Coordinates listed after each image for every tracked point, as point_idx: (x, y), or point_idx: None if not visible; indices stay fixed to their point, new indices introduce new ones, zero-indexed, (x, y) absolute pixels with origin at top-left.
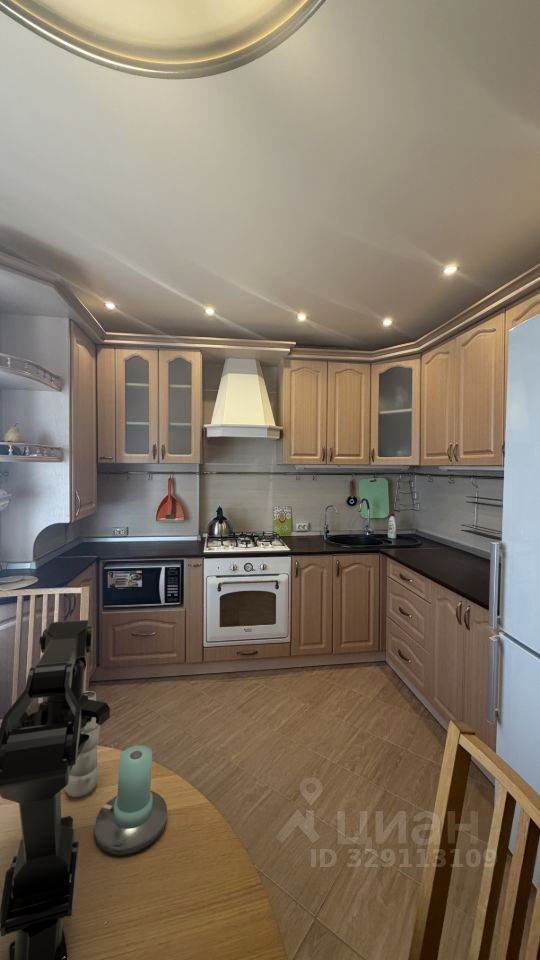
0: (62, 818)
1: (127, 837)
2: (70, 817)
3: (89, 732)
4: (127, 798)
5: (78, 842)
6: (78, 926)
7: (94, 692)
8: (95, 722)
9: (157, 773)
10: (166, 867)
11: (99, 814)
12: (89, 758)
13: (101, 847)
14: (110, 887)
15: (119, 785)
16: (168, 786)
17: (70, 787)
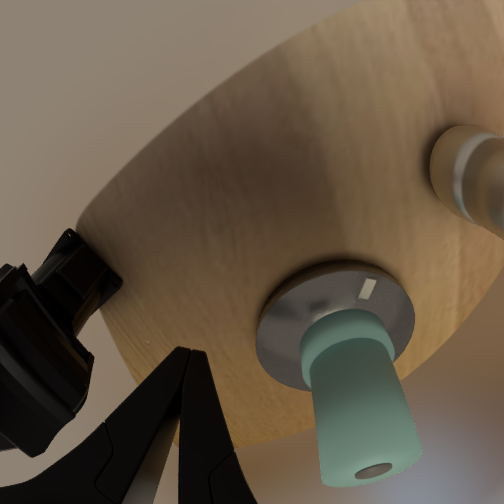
0: (17, 446)
1: (275, 355)
2: (34, 455)
3: None
4: (313, 396)
5: (77, 412)
6: (128, 310)
7: None
8: None
9: (467, 315)
10: (248, 389)
11: (345, 277)
12: (501, 234)
13: (273, 294)
14: (198, 332)
15: (336, 397)
16: (428, 345)
17: (442, 155)
